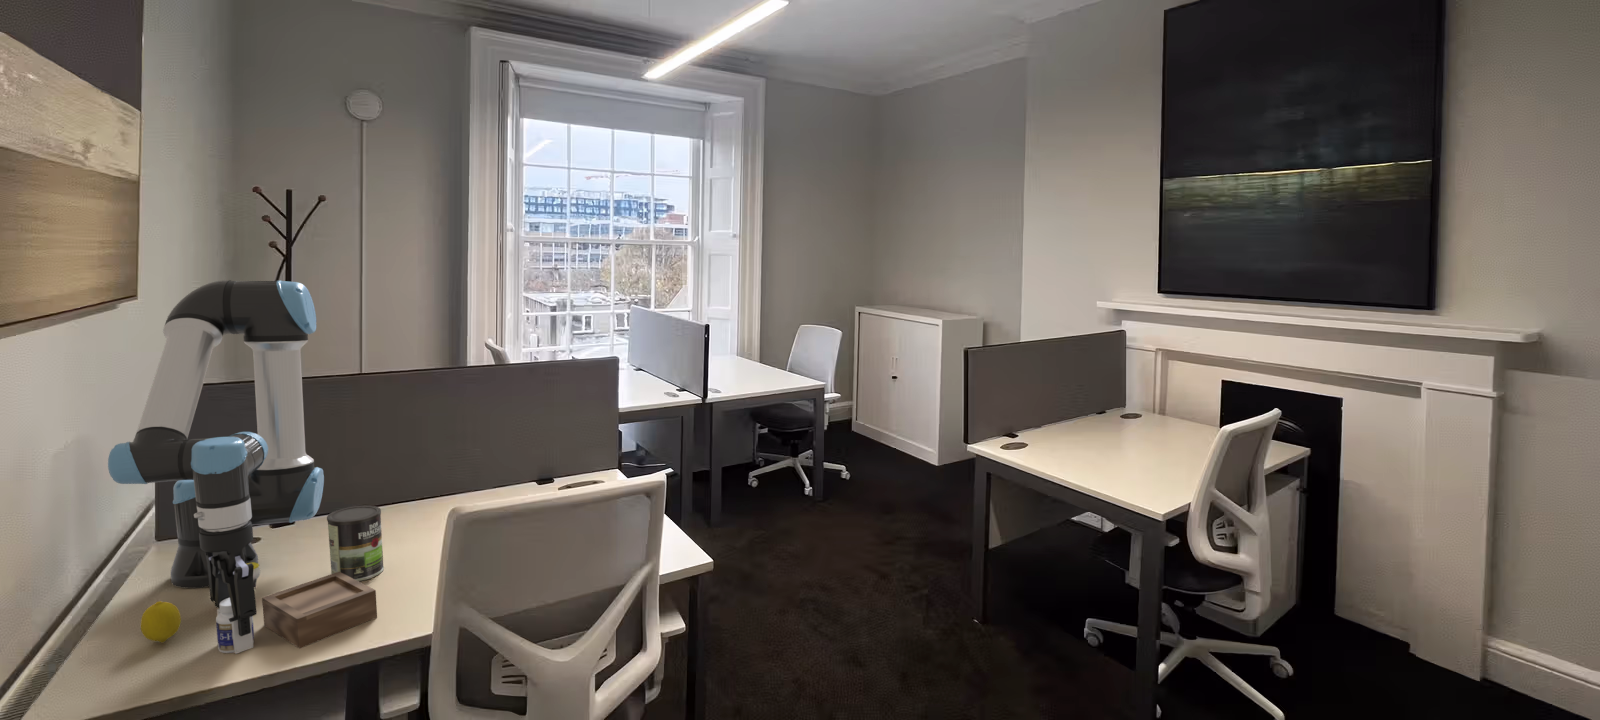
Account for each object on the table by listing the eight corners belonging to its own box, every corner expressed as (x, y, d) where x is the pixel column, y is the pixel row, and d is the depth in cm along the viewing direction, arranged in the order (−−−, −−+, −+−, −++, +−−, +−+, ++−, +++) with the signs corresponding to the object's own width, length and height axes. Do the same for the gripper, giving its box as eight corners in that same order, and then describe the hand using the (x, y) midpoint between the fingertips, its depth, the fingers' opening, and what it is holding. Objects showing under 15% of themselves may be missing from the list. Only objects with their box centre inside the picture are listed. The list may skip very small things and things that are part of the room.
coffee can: (394, 565, 168) (391, 507, 166) (359, 585, 158) (355, 524, 156) (356, 560, 170) (352, 502, 168) (319, 579, 160) (314, 518, 158)
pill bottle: (216, 656, 130) (212, 610, 129) (220, 643, 134) (215, 598, 133) (253, 648, 133) (249, 603, 132) (255, 635, 137) (251, 591, 136)
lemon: (142, 641, 134) (137, 600, 133) (181, 631, 138) (177, 591, 137) (143, 653, 130) (139, 612, 129) (184, 643, 134) (179, 602, 133)
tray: (264, 625, 141) (261, 597, 140) (341, 597, 152) (339, 571, 152) (299, 648, 133) (297, 619, 133) (377, 617, 145) (375, 590, 144)
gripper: (178, 519, 132) (191, 637, 135) (222, 543, 122) (234, 670, 126) (228, 507, 138) (238, 621, 141) (273, 529, 128) (283, 651, 132)
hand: (236, 644), depth 134 cm, fingers closed on pill bottle, 5 cm apart
